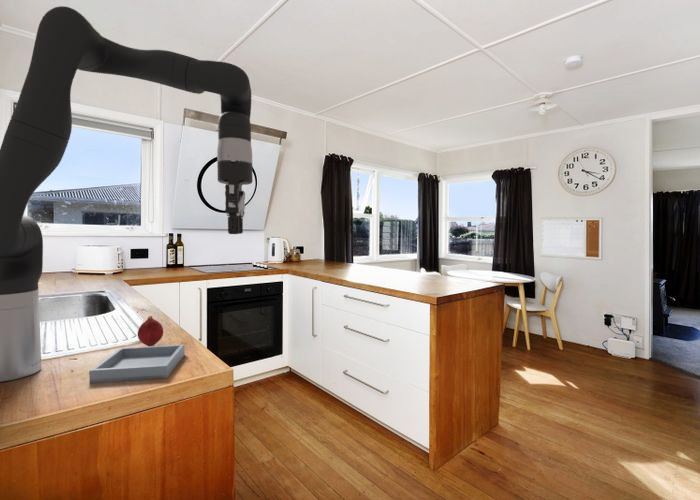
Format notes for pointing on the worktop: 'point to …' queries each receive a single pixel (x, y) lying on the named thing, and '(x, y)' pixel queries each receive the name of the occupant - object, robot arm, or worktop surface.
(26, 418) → the worktop surface
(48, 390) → the worktop surface
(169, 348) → the tray
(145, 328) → the onion
